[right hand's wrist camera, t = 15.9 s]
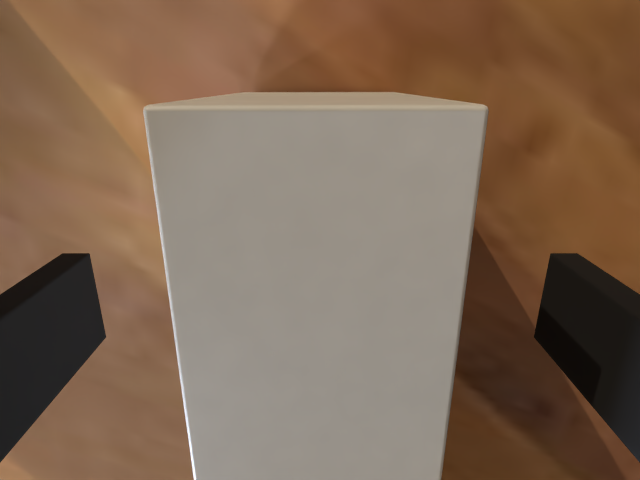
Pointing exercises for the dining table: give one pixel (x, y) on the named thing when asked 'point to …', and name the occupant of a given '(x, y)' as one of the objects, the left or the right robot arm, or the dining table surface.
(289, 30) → the dining table surface
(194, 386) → the bar
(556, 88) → the dining table surface
